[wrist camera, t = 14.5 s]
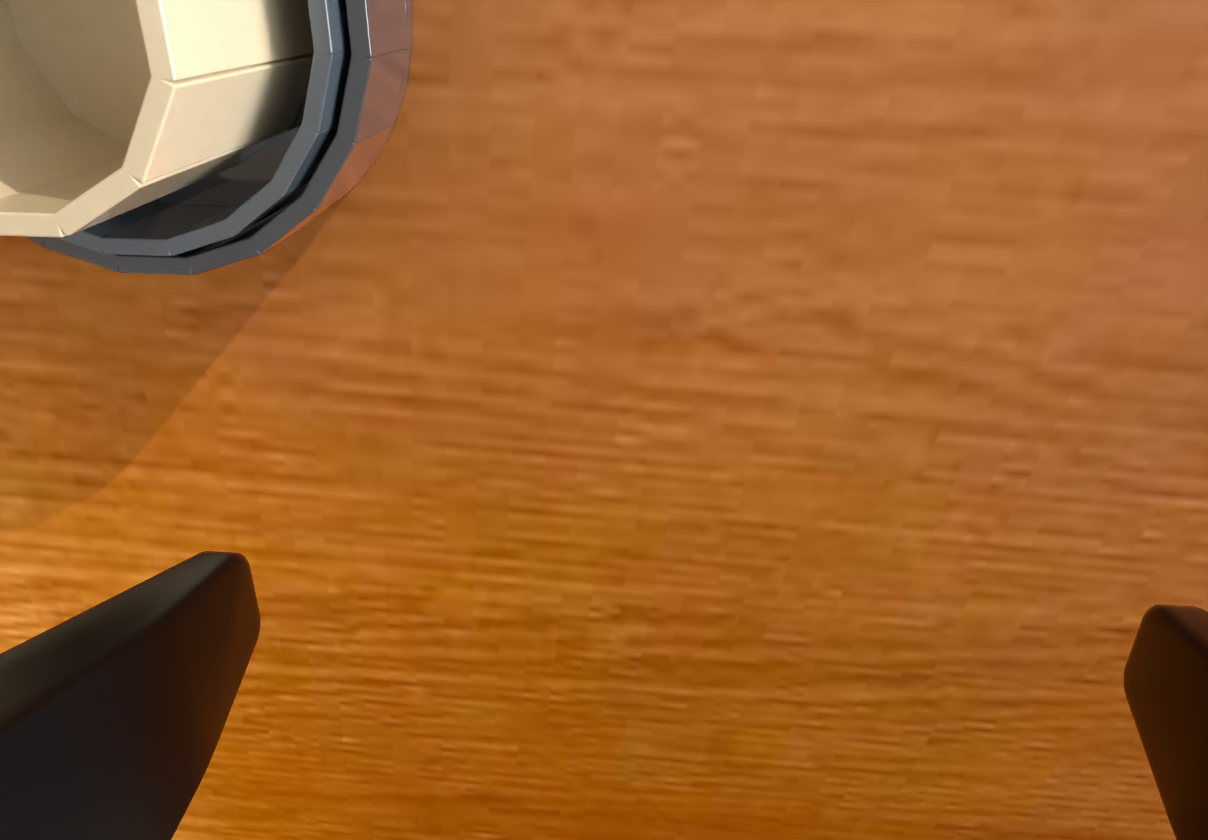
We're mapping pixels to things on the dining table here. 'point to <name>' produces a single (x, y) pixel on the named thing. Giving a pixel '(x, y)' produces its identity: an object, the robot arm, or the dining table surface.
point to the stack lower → (361, 134)
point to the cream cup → (137, 100)
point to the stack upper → (243, 166)
